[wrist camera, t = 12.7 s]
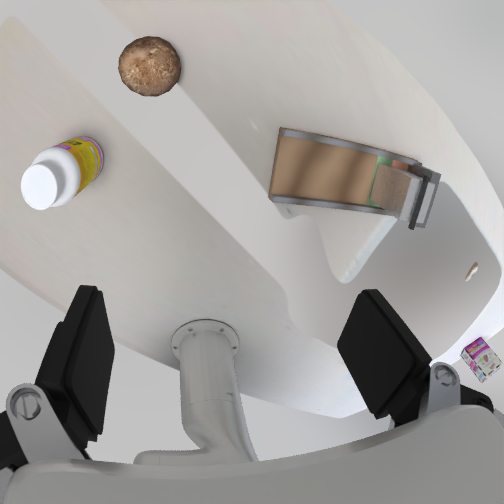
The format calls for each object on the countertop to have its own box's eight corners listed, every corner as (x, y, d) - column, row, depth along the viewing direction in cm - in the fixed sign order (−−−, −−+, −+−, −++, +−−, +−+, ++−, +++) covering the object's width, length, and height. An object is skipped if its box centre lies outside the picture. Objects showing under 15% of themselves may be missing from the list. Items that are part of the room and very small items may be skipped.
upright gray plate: (417, 163, 40) (441, 174, 35) (403, 213, 44) (424, 228, 39) (408, 161, 40) (433, 171, 35) (395, 211, 44) (416, 226, 39)
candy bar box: (459, 355, 84) (481, 384, 70) (463, 348, 82) (486, 377, 68) (477, 344, 85) (498, 370, 71) (481, 336, 82) (503, 362, 68)
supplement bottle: (99, 130, 31) (57, 145, 20) (108, 177, 34) (74, 212, 23) (58, 143, 30) (7, 165, 19) (68, 187, 33) (24, 225, 22)
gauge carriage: (403, 163, 39) (439, 179, 32) (391, 208, 43) (423, 231, 36) (380, 156, 38) (416, 172, 31) (367, 204, 42) (399, 228, 35)
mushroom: (103, 100, 27) (119, 78, 22) (116, 47, 26) (134, 21, 21) (161, 110, 32) (186, 93, 28) (169, 59, 31) (194, 39, 27)
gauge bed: (413, 159, 41) (422, 162, 39) (398, 213, 46) (406, 218, 44) (279, 127, 35) (285, 129, 33) (268, 197, 40) (272, 202, 38)
